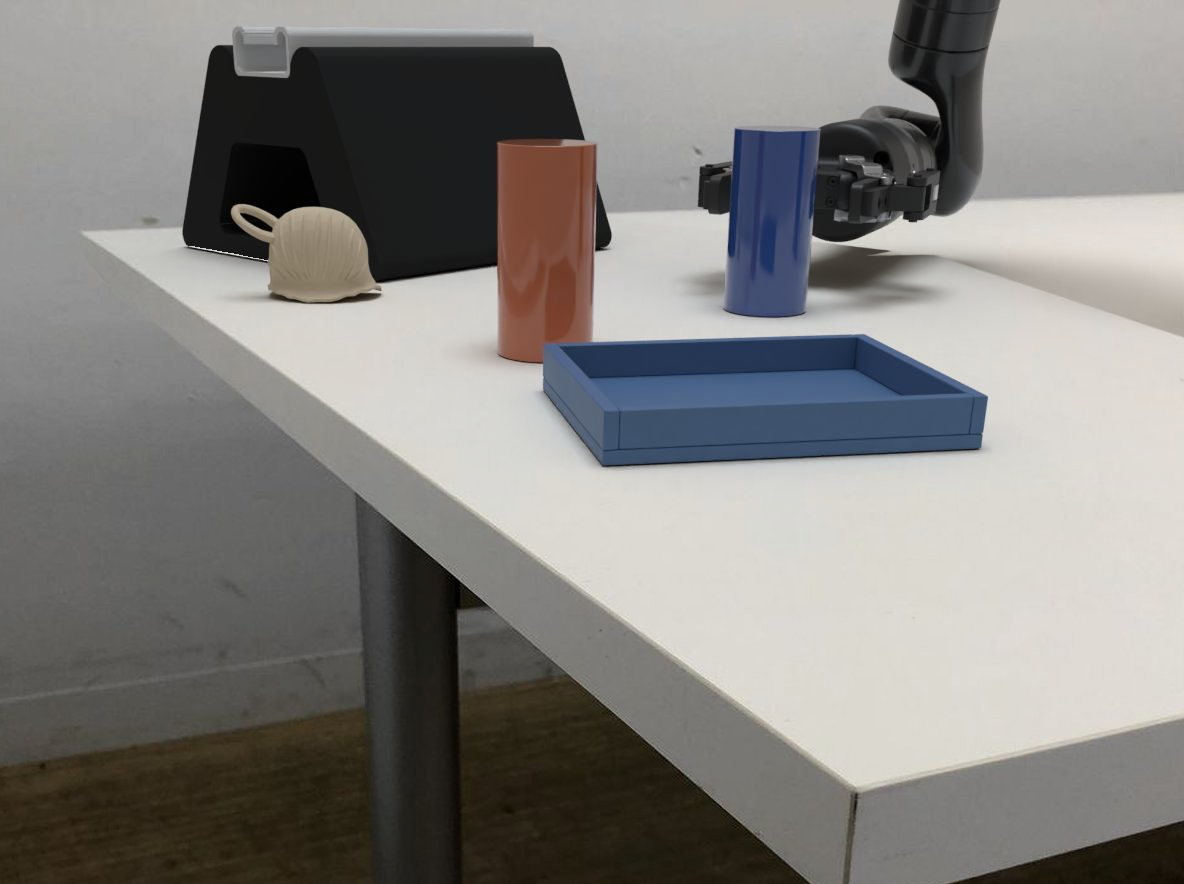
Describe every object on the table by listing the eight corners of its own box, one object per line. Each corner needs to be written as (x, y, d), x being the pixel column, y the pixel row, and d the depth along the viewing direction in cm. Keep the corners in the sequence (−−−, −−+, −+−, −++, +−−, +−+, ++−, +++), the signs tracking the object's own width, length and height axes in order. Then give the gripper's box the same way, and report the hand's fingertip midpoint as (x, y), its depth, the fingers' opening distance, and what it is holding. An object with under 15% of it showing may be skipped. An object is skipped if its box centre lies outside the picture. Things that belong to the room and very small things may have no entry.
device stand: (611, 248, 104) (617, 30, 98) (380, 283, 89) (370, 27, 83) (411, 221, 118) (406, 28, 112) (183, 246, 103) (163, 26, 97)
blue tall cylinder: (789, 301, 84) (803, 125, 80) (818, 315, 80) (834, 130, 76) (713, 303, 83) (723, 125, 79) (738, 317, 79) (749, 131, 75)
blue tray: (860, 378, 65) (865, 333, 65) (981, 448, 54) (989, 395, 54) (542, 389, 63) (543, 343, 62) (602, 466, 52) (604, 410, 51)
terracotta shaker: (581, 341, 73) (585, 138, 69) (602, 361, 68) (607, 146, 64) (491, 344, 72) (489, 139, 68) (505, 364, 68) (505, 146, 64)
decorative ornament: (370, 304, 82) (367, 210, 80) (232, 300, 83) (225, 207, 81) (384, 292, 86) (381, 202, 84) (252, 289, 86) (245, 199, 84)
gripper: (759, 115, 96) (671, 127, 82) (970, 122, 90) (913, 136, 77) (752, 228, 99) (666, 257, 85) (955, 242, 93) (898, 275, 80)
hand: (783, 200), depth 81 cm, fingers open, 8 cm apart
